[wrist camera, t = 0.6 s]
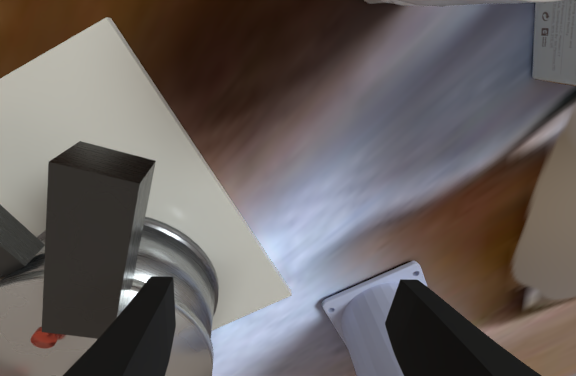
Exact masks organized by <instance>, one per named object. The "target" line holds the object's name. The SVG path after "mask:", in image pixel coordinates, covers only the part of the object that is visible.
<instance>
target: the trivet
mask: <svg viewBox="0 0 576 376" xmlns="http://www.w3.org/2000/svg"><path fill="white" fill-rule="evenodd" d="M79 141H82V142H86V143H89V144H93V145H97V146H101V147H105V148H109V149H112V150H116V151H120V152H124V153H128V154H132V155H135V156H139V157H143V158H147V159H151V160H155V161H156V162H155V168H154V173H153V178H152V184H151V189H150V194H149V199H148V205H147V210H146V215H145V217H149V218H153V219H155V220H158V221H160V222H163V223H166V224H168V225H170V226H172V227H174V228H176V229H177V230H179V231H181V232H182V233H184V234H185V235H187V236H188V237H189V238H191V239H192V240H193V241H194V242H195V243H196V244H198V245H199V247H200V248H201V249H202V250H203V251H204V252H205V253H206V255H207V256H208V258H209V259H210V261H211V262H212V264H213V267H214V269H215V271H216V274H217V278H218V284H219V295H218V304H217V308H216V312H215V314H214V316H213V322H212V330H214V329H217V328H219V327H221V326H223V325H226V324H228V323H230V322H232V321H235V320H237V319H239V318H241V317H244V316H246V315H248V314H251V313H253V312H255V311H257V310H260V309H262V308H264V307H266V306H269V305H271V304H273V303H275V302H278V301H280V300H282V299H284V298H287V297H289V296H291V295H292V293H291V290H290V288H289V287H288V285H287V284H286V282H285V281H284V279H283V277H282V276H281V274H280V273H279V271H278V270H277V268H276V267H275V265H274V264H273V262H272V261H271V259H270V258H269V256H268V255H267V253H266V252H265V250H264V249H263V247H262V246H261V244H260V243H259V241H258V240H257V238H256V237H255V235H254V234H253V232H252V231H251V229H250V228H249V226H248V225H247V223H246V222H245V220H244V219H243V217H242V216H241V214H240V213H239V211H238V210H237V208H236V206H235V205H234V203H233V202H232V200H231V199H230V197H229V196H228V194H227V193H226V191H225V190H224V188H223V187H222V185H221V184H220V182H219V181H218V179H217V178H216V176H215V175H214V173H213V172H212V170H211V169H210V167H209V166H208V164H207V163H206V161H205V160H204V158H203V157H202V155H201V154H200V152H199V151H198V149H197V148H196V146H195V145H194V143H193V142H192V140H191V139H190V137H189V135H188V134H187V132H186V131H185V129H184V128H183V126H182V125H181V123H180V122H179V120H178V119H177V117H176V116H175V114H174V113H173V111H172V110H171V108H170V107H169V105H168V104H167V102H166V101H165V99H164V98H163V96H162V95H161V93H160V92H159V90H158V89H157V87H156V86H155V84H154V83H153V81H152V80H151V78H150V77H149V75H148V74H147V72H146V71H145V69H144V67H143V66H142V64H141V63H140V61H139V60H138V58H137V57H136V55H135V54H134V52H133V51H132V49H131V48H130V46H129V45H128V43H127V42H126V40H125V39H124V37H123V36H122V34H121V33H120V31H119V30H118V28H117V27H116V25H115V24H114V22H113V21H112V19H111V18H107V17H106V18H105V19H103V20H101V21H99V22H98V23H96V24H94V25H93V26H91V27H89V28H87V29H86V30H84V31H82V32H80V33H79V34H77V35H75V36H73V37H72V38H70V39H68V40H67V41H65V42H63V43H61V44H60V45H58V46H56V47H54V48H53V49H51V50H49V51H47V52H46V53H44V54H42V55H41V56H39V57H37V58H35V59H34V60H32V61H30V62H28V63H27V64H25V65H23V66H21V67H20V68H18V69H16V70H15V71H13V72H11V73H9V74H8V75H6V76H4V77H2V78H1V79H0V205H1V206H2V207H4V208H5V209H6V210H7V211H8V212H9V213H10V214H11V215H12V216H13V217H15V218H16V219H17V220H18V221H19V222H20V223H21V224H22V225H23V226H25V227H26V228H27V229H28V230H29V231H30V232H31V233H32V234H33V235H34V236H36V237H37V236H39V235H40V234H41V233H42V232H43V231H45V230H46V212H47V188H48V163H49V161H51V160H52V159H54V158H55V157H57V156H58V155H60V154H61V153H63V152H64V151H66V150H67V149H69V148H70V147H72V146H73V145H75V144H76V143H78V142H79Z"/></svg>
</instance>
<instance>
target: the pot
mask: <svg viewBox="0 0 576 376" xmlns="http://www.w3.org/2000/svg"><path fill="white" fill-rule="evenodd" d="M45 237H46V230H45V231H43V232H42V233H41V234H40V235H39V236H37V237H36V236H34V235H33V234H32V233H31V232H30V231H29V230H28V229H27V228H26V227H25V226H23V225H22V224H21V223H20V222H19V221H18V220H17V219H16V218H15V217H13V216H12V215H11V214H10V213H9V212H8V211H7V210H6V209H5V208H4V207H2V206H1V205H0V281H2V280H4V279H7V278H9V277H13V276H16V275H20V274H24V273H28V272H34V271H40V270H44V261H45ZM152 276H160V277H173V279H174V297H175V298H176V299H177V300H179V301H180V302H181V303H183V304H184V305H186V306H187V307H188V308H189V309H190V310H191V311H192V312H193V313H194V314H195V315H196V316H197V317H198V319H199V320H200V321H201V322H202V324H203V325H204V327H205V329H206V330H207V332H208V334H209V337H210V339H211V331H212V322H213V316H214V314H215V312H216V308H217V304H218V295H219V284H218V278H217V274H216V271H215V269H214V267H213V264H212V262H211V261H210V259H209V258H208V256H207V255H206V253H205V252H204V251H203V250H202V249H201V248H200V247H199V245H198V244H196V243H195V242H194V241H193V240H192V239H191V238H189V237H188V236H187V235H185V234H184V233H182V232H181V231H179V230H177V229H176V228H174V227H172V226H170V225H168V224H166V223H163V222H160V221H158V220H155V219H153V218H149V217H145V221H144V226H143V231H142V236H141V242H140V247H139V252H138V257H137V263H136V268H135V273H134V279H137V280H140V281H143V282H145V283H146V281H147V280H148V279H149V278H150V277H152Z"/></svg>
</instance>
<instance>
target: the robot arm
mask: <svg viewBox="0 0 576 376" xmlns="http://www.w3.org/2000/svg"><path fill="white" fill-rule="evenodd" d="M415 271H416V272H415ZM414 272H415V273H414ZM322 307H323V309H324V311H325V312H326V314H327V316H328V317H329V319H330V321H331V322H332V324H333V326H334V327H335V329H336V330H337V332H338V334H339V335H340V337H341V339H342V340H343V342H344V343H345V345H346V347H347V348H348V350H349V353H350V356H351V359H352V362H353V366H354V369H355V372H356V375H357V376H541V375H540V374H538V373H537V372H535V371H534V370H532V369H531V368H530V367H528V366H527V365H525V364H524V363H523V362H521V361H520V360H519V359H517V358H516V357H515V356H513V355H512V354H511V353H509V352H508V351H506V350H505V349H504V348H502V347H501V346H500V345H498V344H497V343H496V342H495V341H493V340H492V339H491V338H489V337H488V336H487V335H486V334H484V333H483V332H482V331H481V330H479V329H478V328H477V327H476V326H474V325H473V324H472V323H471V322H469V321H468V320H467V319H466V318H464V317H463V316H462V315H461V314H460V313H458V312H457V311H456V310H455V309H454V308H452V307H451V306H450V305H449V304H447V303H446V302H445V301H444V300H443V299H441V298H440V297H439V296H438V295H437V294H435V293H434V292H433V291H432V290H430V289H429V288H428V287H427V284H426V281H425V278H424V275H423V272H422V270H421V267H420V265H419V264H418V262H416V261H412V262H409V263H407V264H404V265H402V266H400V267H397V268H395V269H393V270H391V271H388V272H386V273H384V274H381V275H379V276H377V277H374V278H372V279H370V280H368V281H365V282H363V283H361V284H358V285H356V286H354V287H352V288H349V289H347V290H345V291H342V292H340V293H338V294H336V295H333V296H331V297H329V298H326V299H325V300H323V301H322ZM330 308H331V309H330ZM175 328H176V318H175V299H174V279H173V277H160V276H152V277H150V278H149V279H148V280H147V281H146V283H145V284H144V285H143V287H142V288H141V289H140V290H139V292H138V293H137V294H136V295H135V297H134V298H133V299H132V300H131V301H130V303H129V304H128V305H127V306H126V307H125V309H124V310H123V311H122V312H121V313H120V315H119V316H118V317H117V318H116V319H115V320H114V321H113V323H112V324H111V325H110V326H109V327H108V328H107V329H106V330H105V332H104V333H103V334H102V335H101V336H100V337H99V338H98V339H97V341H96V342H95V343H94V344H93V345H92V346H91V347H90V348H89V349H88V350H87V351H86V352H85V353H84V354H83V355H82V356H81V357H80V358H79V359H78V360H77V361H76V362H75V363H74V364H73V366H72V367H71V368H70V369H69V370H68V371H67V372H66V373H65V374H64V375H63V376H165V374H166V370H167V367H168V363H169V359H170V354H171V349H172V344H173V339H174V333H175Z"/></svg>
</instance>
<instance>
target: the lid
mask: <svg viewBox="0 0 576 376" xmlns="http://www.w3.org/2000/svg"><path fill="white" fill-rule="evenodd" d="M155 162H156V161H155V160H151V159H147V158H143V157H139V156H135V155H132V154H128V153H124V152H120V151H116V150H112V149H109V148H105V147H101V146H97V145H93V144H89V143H86V142H82V141H79V142H78V143H76V144H75V145H73V146H72V147H70V148H69V149H67V150H66V151H64V152H63V153H61V154H60V155H58V156H57V157H55V158H54V159H52V160H51V161H49V163H48V188H47V212H46V237H45V261H44V270H40V271H34V272H28V273H24V274H20V275H16V276H13V277H9V278H7V279H4V280H2V281H0V376H63V375H64V374H65V373H66V372H67V371H68V370H69V369H70V368H71V367H72V366H73V364H74V363H75V362H76V361H77V360H78V359H79V358H80V357H81V356H82V355H83V354H84V353H85V352H86V351H87V350H88V349H89V348H90V347H91V346H92V345H93V344H94V343H95V342H96V341H97V339H98V338H99V337H100V336H101V335H102V334H103V333H104V332H105V330H106V329H107V328H108V327H109V326H110V325H111V324H112V323H113V321H114V320H115V319H116V318H117V317H118V316H119V315H120V313H121V312H122V311H123V310H124V309H125V307H126V306H127V305H128V304H129V303H130V301H131V300H132V299H133V298H134V297H135V295H136V294H137V293H138V292H139V290H140V289H141V288H142V287H143V285H144V284H145V282H143V281H140V280H137V279H134V273H135V268H136V263H137V257H138V252H139V247H140V242H141V236H142V231H143V226H144V221H145V215H146V210H147V205H148V199H149V194H150V189H151V184H152V178H153V173H154V168H155ZM174 299H175V318H176V328H175V333H174V339H173V344H172V349H171V354H170V359H169V363H168V367H167V370H166V374H165V376H212V369H213V356H214V354H213V347H212V342H211V340H210V337H209V334H208V332H207V330H206V329H205V327H204V325H203V324H202V322H201V321H200V320H199V319H198V317H197V316H196V315H195V314H194V313H193V312H192V311H191V310H190V309H189V308H188V307H187V306H186V305H184V304H183V303H181V302H180V301H179V300H177V299H176V298H175V297H174Z"/></svg>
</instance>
